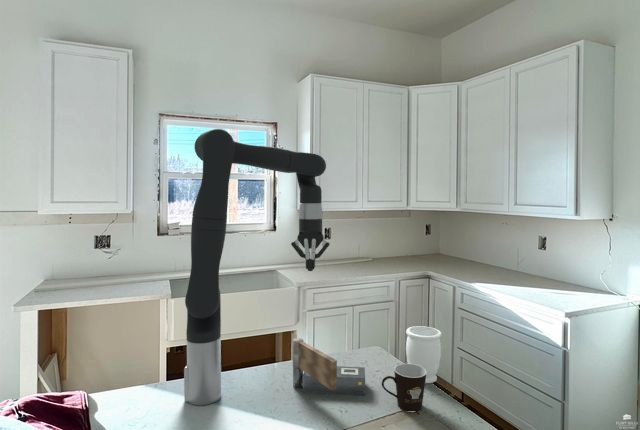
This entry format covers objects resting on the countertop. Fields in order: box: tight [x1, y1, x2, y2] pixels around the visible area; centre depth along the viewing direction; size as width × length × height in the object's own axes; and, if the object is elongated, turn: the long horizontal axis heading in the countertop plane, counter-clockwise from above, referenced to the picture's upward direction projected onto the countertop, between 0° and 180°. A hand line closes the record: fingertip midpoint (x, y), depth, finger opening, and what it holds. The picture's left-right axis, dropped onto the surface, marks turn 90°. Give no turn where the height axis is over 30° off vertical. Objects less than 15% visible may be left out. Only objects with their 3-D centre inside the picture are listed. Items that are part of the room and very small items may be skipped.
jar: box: [405, 325, 442, 384], centre depth 123 cm, size 11×10×15 cm
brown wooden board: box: [292, 338, 338, 391], centre depth 111 cm, size 20×3×8 cm, turn 35°
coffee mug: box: [381, 362, 427, 413], centre depth 107 cm, size 12×9×10 cm
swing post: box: [292, 366, 304, 389], centre depth 118 cm, size 3×3×6 cm
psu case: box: [302, 365, 366, 396], centre depth 116 cm, size 18×7×5 cm, turn 85°
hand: (310, 270), depth 127 cm, fingers closed
